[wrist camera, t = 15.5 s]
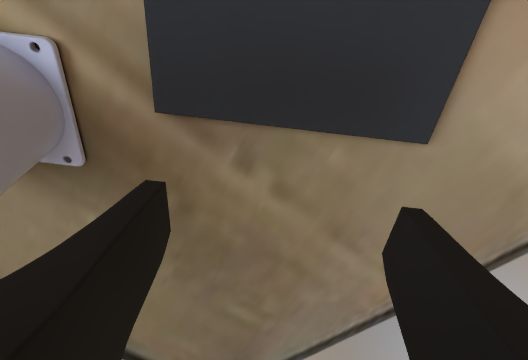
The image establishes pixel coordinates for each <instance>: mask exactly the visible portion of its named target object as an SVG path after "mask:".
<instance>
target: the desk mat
mask: <svg viewBox="0 0 528 360" xmlns="http://www.w3.org/2000/svg"><path fill="white" fill-rule="evenodd" d="M490 1H491V0H144V7H145V17H146V27H147V37H148V47H149V57H150V67H151V77H152V87H153V97H154V107H155V112H157V113H165V114H174V115H182V116H191V117H199V118H208V119H216V120H225V121H233V122H242V123H250V124H259V125H267V126H276V127H284V128H293V129H301V130H310V131H318V132H327V133H335V134H344V135H352V136H361V137H369V138H378V139H386V140H395V141H403V142H412V143H420V144H428V142H429V139H430V137H431V135H432V133H433V130H434V128H435V126H436V124H437V121H438V119H439V117H440V115H441V112H442V110H443V108H444V105H445V103H446V101H447V99H448V96H449V94H450V92H451V90H452V87H453V85H454V83H455V81H456V78H457V76H458V74H459V71H460V69H461V67H462V65H463V62H464V60H465V58H466V56H467V53H468V51H469V49H470V47H471V44H472V42H473V40H474V37H475V35H476V33H477V31H478V28H479V26H480V24H481V22H482V19H483V17H484V15H485V13H486V10H487V8H488V6H489V4H490Z"/></svg>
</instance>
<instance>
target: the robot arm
mask: <svg viewBox="0 0 528 360" xmlns="http://www.w3.org/2000/svg"><path fill="white" fill-rule="evenodd" d="M34 42H35V43H37V44H38V45H39V47H40V50H38V49H37V48H36V47H35V45H34ZM67 156H68V157H70V158H71V159H69V158H68V157H67ZM85 161H86V160H85V155H84V151H83V147H82V143H81V139H80V135H79V131H78V127H77V123H76V119H75V115H74V111H73V107H72V103H71V99H70V95H69V91H68V87H67V83H66V79H65V75H64V71H63V68H62V64H61V60H60V56H59V52H58V48H57V45H56V44H55V42H54V41H53V40H52V39H50V38H48V37H44V36H35V35H27V34H18V33H10V32H2V31H0V196H1V195H2V194H3V193H4V192H5V191H6V190H7V189H8V188H10V187H11V186H12V185H13V184H14V183H15V182H16V181H17V180H19V179H20V178H21V177H22V176H23V175H24V174H25V173H26V172H28V171H29V170H30V169H31V168H32V167H33V166H34V165H35V164H37V163H38V162H44V163H52V164H61V165H69V166H82V165H83V164H84V163H85ZM170 232H171V229H170V219H169V210H168V200H167V191H166V182H159V181H150V180H145V181H144V182H142V183H141V184H140V185H139V186H137V187H136V188H135V189H133V190H132V191H131V192H130V193H128V194H127V195H126V196H125V197H123V198H122V199H121V200H120V201H118V202H117V203H116V204H115V205H113V206H112V207H111V208H110V209H108V210H107V211H106V212H104V213H103V214H102V215H100V216H99V217H98V218H96V219H95V220H94V221H92V222H91V223H90V224H88V225H87V226H86V227H84V228H83V229H81V230H80V231H78V232H77V233H75V234H74V235H73V236H71V237H70V238H68V239H67V240H65V241H64V242H63V243H61V244H60V245H58V246H57V247H55V248H54V249H52V250H50V251H49V252H47V253H46V254H44V255H42V256H41V257H39V258H37V259H36V260H34V261H32V262H31V263H29V264H27V265H26V266H24V267H22V268H20V269H19V270H17V271H15V272H13V273H12V274H10V275H8V276H6V277H4V278H2V279H0V360H121V359H122V356H123V353H124V350H125V347H126V344H127V341H128V339H129V336H130V334H131V331H132V328H133V326H134V324H135V321H136V319H137V317H138V315H139V312H140V310H141V308H142V306H143V303H144V301H145V299H146V296H147V294H148V292H149V290H150V287H151V285H152V283H153V280H154V278H155V276H156V274H157V271H158V269H159V267H160V264H161V262H162V259H163V256H164V253H165V249H166V246H167V242H168V239H169V235H170ZM382 256H383V263H384V270H385V276H386V281H387V286H388V289H389V293H390V296H391V299H392V303H393V306H394V310H395V313H396V316H397V319H398V323H399V326H400V329H401V333H402V336H403V339H404V342H405V346H406V349H407V352H408V356H409V359H410V360H528V305H527V304H526V303H525V302H523V301H522V300H521V299H520V298H519V297H517V296H516V295H515V294H514V293H513V292H512V291H510V290H509V289H508V288H507V287H506V286H505V285H503V284H502V283H501V282H500V281H499V280H498V279H496V278H495V277H494V276H493V275H492V274H491V273H490V272H489V271H487V270H486V269H485V268H484V267H483V266H482V265H481V264H480V263H479V262H478V261H476V260H475V259H474V258H473V257H472V256H471V255H470V254H469V253H468V252H467V251H466V250H465V249H464V248H463V247H462V246H461V245H460V244H459V243H458V242H456V241H455V240H454V239H453V238H452V237H451V236H450V235H449V234H448V233H447V232H446V231H445V230H444V229H443V228H442V227H441V226H440V225H439V224H438V223H437V222H436V221H435V220H434V219H433V218H432V217H430V216H429V215H428V214H427V213H426V212H425V211H424V210H423V209H417V208H408V207H402V208H401V210H400V213H399V215H398V217H397V219H396V222H395V224H394V226H393V229H392V231H391V233H390V236H389V238H388V240H387V243H386V245H385V247H384V250H383V252H382Z"/></svg>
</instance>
